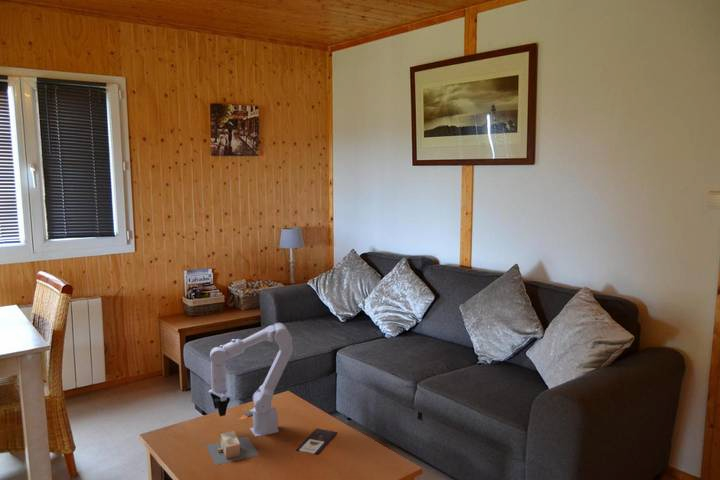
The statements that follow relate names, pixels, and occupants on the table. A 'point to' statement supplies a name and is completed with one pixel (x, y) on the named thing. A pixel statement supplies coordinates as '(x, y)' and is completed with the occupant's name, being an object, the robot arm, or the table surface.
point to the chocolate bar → (316, 441)
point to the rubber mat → (245, 452)
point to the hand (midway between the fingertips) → (219, 411)
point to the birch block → (230, 444)
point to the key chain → (247, 414)
